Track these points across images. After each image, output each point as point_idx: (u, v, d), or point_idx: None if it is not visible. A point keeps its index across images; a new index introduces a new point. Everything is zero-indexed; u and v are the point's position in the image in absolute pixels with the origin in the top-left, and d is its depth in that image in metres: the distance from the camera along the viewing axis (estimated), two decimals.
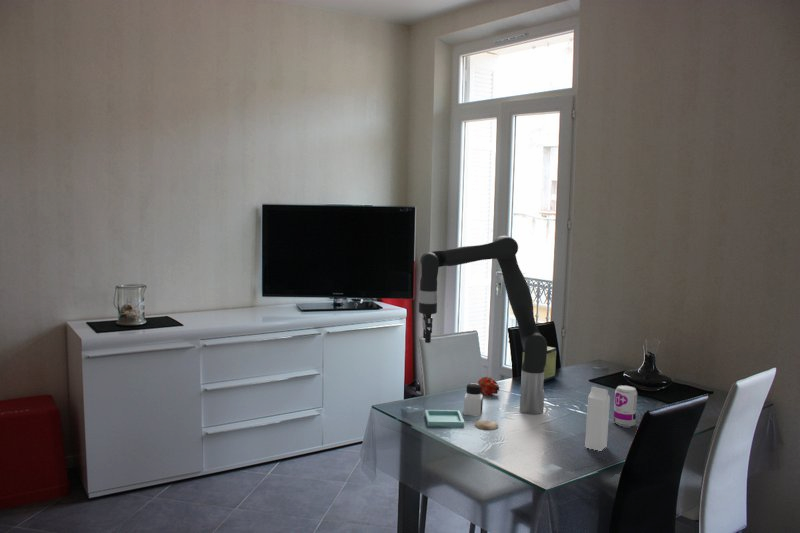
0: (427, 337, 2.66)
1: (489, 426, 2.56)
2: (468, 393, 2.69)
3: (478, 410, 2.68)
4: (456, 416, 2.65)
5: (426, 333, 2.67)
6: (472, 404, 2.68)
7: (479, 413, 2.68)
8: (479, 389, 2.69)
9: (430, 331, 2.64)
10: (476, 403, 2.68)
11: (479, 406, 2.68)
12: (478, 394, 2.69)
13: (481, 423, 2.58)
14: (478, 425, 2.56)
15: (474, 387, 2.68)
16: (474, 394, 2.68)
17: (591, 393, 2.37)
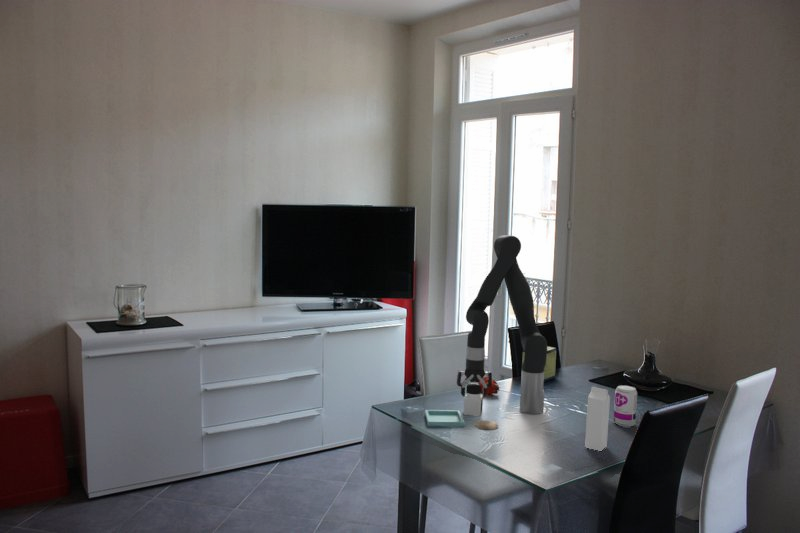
0: (486, 391, 2.71)
1: (489, 426, 2.56)
2: (468, 393, 2.69)
3: (478, 410, 2.68)
4: (456, 416, 2.65)
5: None
6: (472, 404, 2.68)
7: (479, 413, 2.68)
8: (479, 389, 2.69)
9: None
10: (476, 403, 2.68)
11: (479, 406, 2.68)
12: (478, 394, 2.69)
13: (481, 423, 2.58)
14: (478, 425, 2.56)
15: (474, 387, 2.68)
16: (474, 394, 2.68)
17: (591, 393, 2.37)
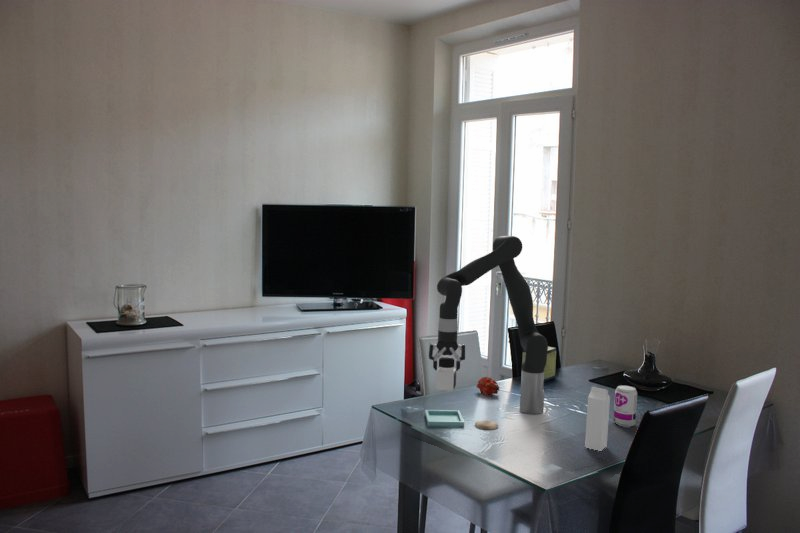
0: (459, 364, 2.59)
1: (489, 426, 2.56)
2: (440, 367, 2.58)
3: (450, 384, 2.56)
4: (456, 416, 2.65)
5: (458, 361, 2.59)
6: (445, 378, 2.56)
7: (452, 387, 2.56)
8: (452, 362, 2.57)
9: None
10: (449, 377, 2.56)
11: (452, 380, 2.56)
12: (451, 367, 2.57)
13: (481, 423, 2.58)
14: (478, 425, 2.56)
15: (446, 360, 2.56)
16: (446, 367, 2.56)
17: (591, 393, 2.37)
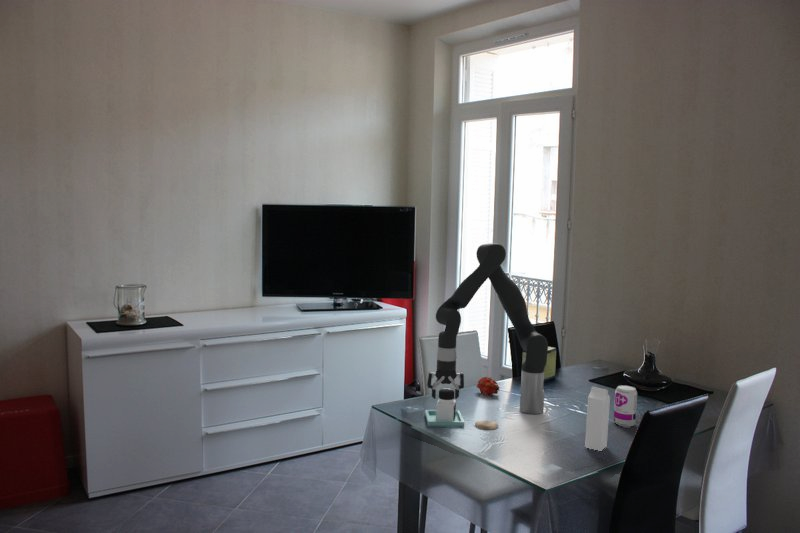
0: (458, 392, 2.60)
1: (489, 426, 2.56)
2: (440, 399, 2.59)
3: (450, 416, 2.57)
4: (456, 416, 2.65)
5: None
6: (445, 410, 2.58)
7: (452, 419, 2.57)
8: (452, 394, 2.58)
9: None
10: (449, 409, 2.57)
11: (452, 412, 2.57)
12: (451, 399, 2.58)
13: (481, 423, 2.58)
14: (478, 425, 2.56)
15: (446, 392, 2.58)
16: (446, 400, 2.58)
17: (591, 393, 2.37)
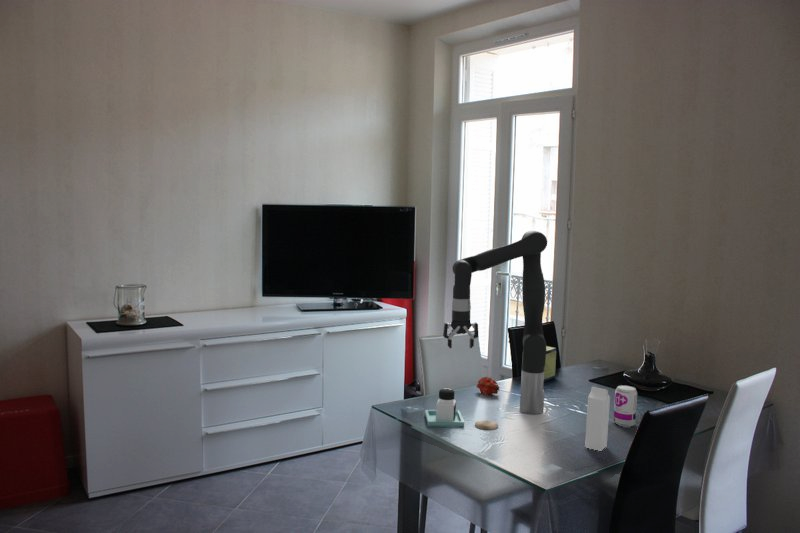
0: None
1: (489, 426, 2.56)
2: (440, 399, 2.59)
3: (450, 417, 2.57)
4: (456, 416, 2.65)
5: (472, 338, 2.72)
6: (445, 410, 2.58)
7: (452, 419, 2.57)
8: (452, 394, 2.58)
9: None
10: (449, 409, 2.57)
11: (452, 412, 2.57)
12: (451, 400, 2.58)
13: (481, 423, 2.58)
14: (478, 425, 2.56)
15: (447, 392, 2.58)
16: (447, 400, 2.58)
17: (591, 393, 2.37)
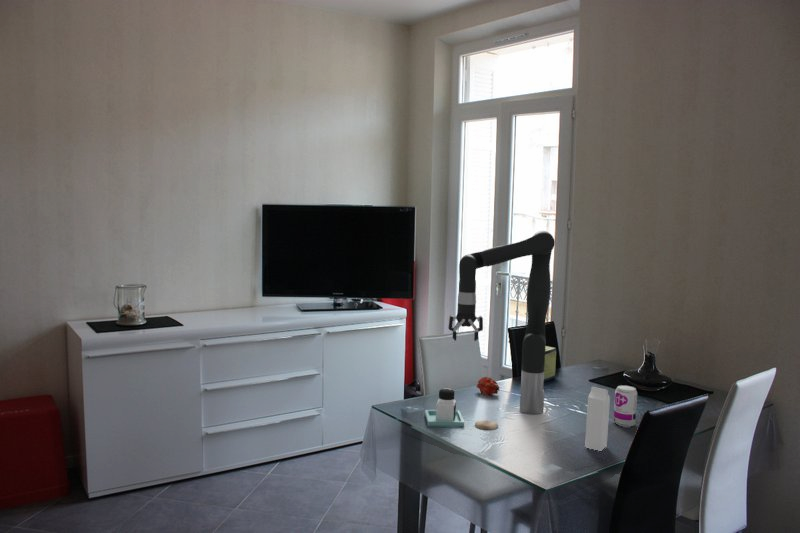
0: (477, 335, 2.79)
1: (489, 426, 2.56)
2: (440, 399, 2.59)
3: (450, 417, 2.57)
4: (456, 416, 2.65)
5: None
6: (445, 410, 2.58)
7: (452, 419, 2.57)
8: (452, 394, 2.58)
9: None
10: (449, 409, 2.57)
11: (452, 412, 2.57)
12: (451, 400, 2.58)
13: (481, 423, 2.58)
14: (478, 425, 2.56)
15: (447, 392, 2.58)
16: (447, 400, 2.58)
17: (591, 393, 2.37)
